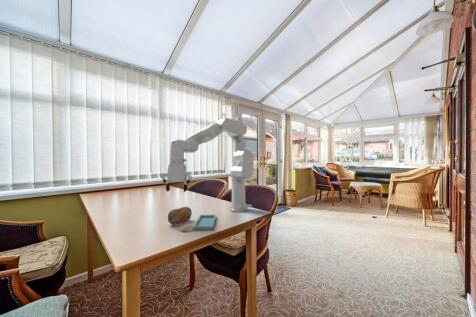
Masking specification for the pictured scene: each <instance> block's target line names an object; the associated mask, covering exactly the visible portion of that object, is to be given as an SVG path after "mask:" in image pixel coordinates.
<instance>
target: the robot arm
mask: <svg viewBox="0 0 476 317" xmlns="http://www.w3.org/2000/svg"><path fill="white" fill-rule="evenodd" d="M247 131H248V127H247V125H246V124H245V123H243V122H241V121H238V120H235V119H232V118H227V117H224V118H221V119H217V120H216V121H214V122H213V123H211V124H209V125H207V126H206V127H204V128H202V129H200V130H199V131H197V132H195V133H194V134H191V135H190V136H189V137H187V138H185V139H177V138H174V139H171V140H170V144H169V145H170V146H169V147H170V148H169V149H170V154H169V158H170V160H169V164H168V167H167V172H166V174H164V175H162V176H161V179H162V182H163V183H164V184H165V190H166V192H169V191H170V190H171V186H170V185H171V184H170V183H171V182H183V192H185V193H186V192H187V191H188V184H189V183H190V182H191V181H192V178H193V176H192V175H189V174H188V173H187V166H186V165H187V164H186V163H187V158H186V159H185V154H187V153H188V154H191V153H192V154H193V153H195V152H197V151H198V150H199V147H200V145H202V144H205V143H208V142H210V141H212V140H214V139H215V138H218V137H219V136H220V135H221V134H223V133H225V132H226V134H227V135H228V137H230V139H231V141H232V145H233V151H232V159H233V161H234V162H235V163H237V164H235V165H233V166H231V168H230V169H229V170H230V171H229V172H230V180H231V206H230V207H229V211H231V212H234V213H236V212H237V213H241V212H246V211H247V210H248V208H253V206H252V204H248V203H246V182H245V180H250V179H251V178H252V177H253V174H254V158H255V157H254V153H253V152H252V150H250V149H247V148H246V140H245V137H244V135H246V134H247ZM185 162H186V163H185ZM187 178H188V179H187Z"/></svg>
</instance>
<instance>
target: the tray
mask: <svg viewBox="0 0 476 317" xmlns="http://www.w3.org/2000/svg"><path fill="white" fill-rule="evenodd" d="M216 220H217V214H200V215H199V216H198V217H197V219H196V221H195V222H194V224H193V225H192V226H193V229H194V231H213V229H214V227H215V223H216Z"/></svg>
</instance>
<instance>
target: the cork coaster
mask: <svg viewBox="0 0 476 317" xmlns="http://www.w3.org/2000/svg"><path fill="white" fill-rule="evenodd" d="M193 226H194V225H184V226H182V227H180V228H179V231H180V232H182V233H190V232H194V231H195V230H194V229H193Z"/></svg>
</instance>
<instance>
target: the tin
mask: <svg viewBox="0 0 476 317" xmlns="http://www.w3.org/2000/svg"><path fill="white" fill-rule="evenodd" d="M192 214H193V213H192V208H190V207H188V206H182V207H178V208H175V209H172V210H170V211H169V213H168V214H167V222H168V223H169V224H170V225H173V226H177V225H181V224H183V223H187V222H188V221H189V220H190V219H191V218H192Z"/></svg>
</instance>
